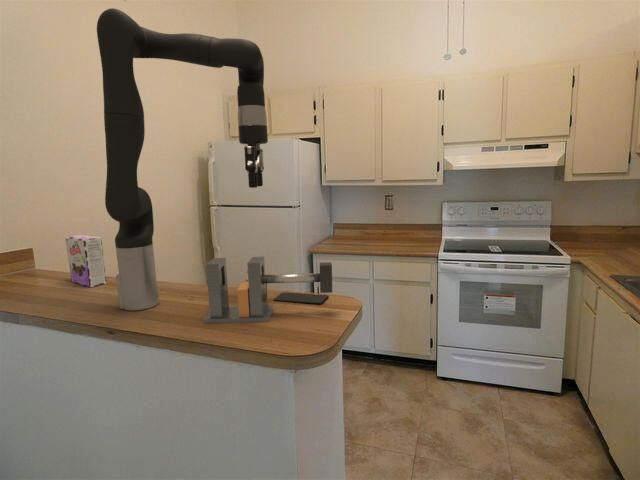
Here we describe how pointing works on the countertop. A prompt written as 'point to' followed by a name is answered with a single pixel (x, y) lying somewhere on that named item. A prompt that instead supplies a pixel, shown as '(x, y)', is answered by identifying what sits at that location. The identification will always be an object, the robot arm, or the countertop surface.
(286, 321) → the countertop surface
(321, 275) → the shaft
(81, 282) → the candy box
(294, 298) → the smartphone
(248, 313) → the spacer
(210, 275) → the bearing bracket
